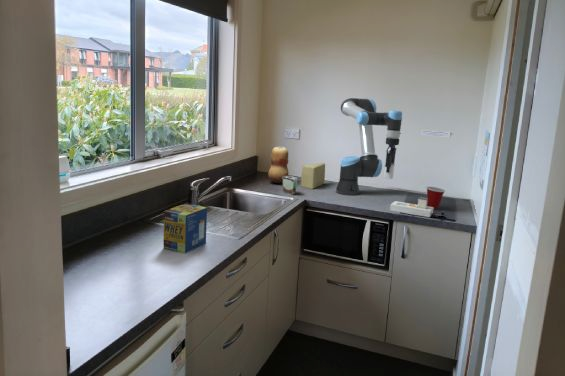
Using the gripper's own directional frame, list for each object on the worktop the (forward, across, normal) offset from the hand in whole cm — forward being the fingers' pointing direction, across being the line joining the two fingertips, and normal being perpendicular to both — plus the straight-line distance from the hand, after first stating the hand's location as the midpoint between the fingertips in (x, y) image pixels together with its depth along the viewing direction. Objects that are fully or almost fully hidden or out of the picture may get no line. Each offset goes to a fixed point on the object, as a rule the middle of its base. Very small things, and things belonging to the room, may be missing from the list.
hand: (388, 177), depth 276 cm
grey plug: (0, 0, 0) cm, 0 cm away
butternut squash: (+17, +8, +77) cm, 79 cm away
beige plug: (+16, -8, -23) cm, 29 cm away
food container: (+17, -12, +57) cm, 61 cm away
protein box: (+16, -127, +48) cm, 137 cm away
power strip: (+16, -8, -21) cm, 28 cm away
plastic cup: (+17, +10, -26) cm, 32 cm away
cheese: (+17, +18, +54) cm, 59 cm away
